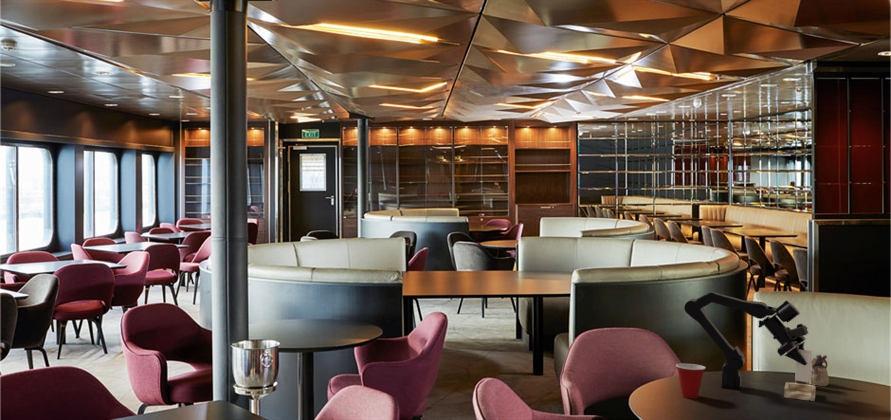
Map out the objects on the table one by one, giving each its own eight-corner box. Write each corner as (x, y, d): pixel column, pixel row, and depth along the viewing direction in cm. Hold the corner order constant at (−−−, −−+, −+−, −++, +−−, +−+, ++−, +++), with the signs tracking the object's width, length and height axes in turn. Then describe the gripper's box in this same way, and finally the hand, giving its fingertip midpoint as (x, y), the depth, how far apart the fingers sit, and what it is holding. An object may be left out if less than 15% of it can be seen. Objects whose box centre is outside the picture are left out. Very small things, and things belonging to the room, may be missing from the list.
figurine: (810, 380, 313) (811, 351, 312) (830, 383, 309) (831, 354, 308) (807, 384, 307) (808, 354, 307) (826, 387, 303) (827, 357, 303)
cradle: (784, 397, 289) (784, 368, 289) (787, 383, 309) (788, 356, 308) (814, 401, 284) (815, 371, 284) (816, 386, 304) (817, 359, 304)
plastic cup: (706, 394, 292) (707, 363, 292) (703, 402, 282) (704, 369, 282) (677, 390, 297) (677, 360, 296) (673, 398, 287) (673, 366, 286)
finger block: (794, 380, 288) (796, 351, 288) (798, 377, 292) (799, 349, 291) (807, 382, 286) (809, 353, 285) (810, 379, 289) (812, 351, 289)
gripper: (788, 320, 283) (818, 355, 276) (801, 314, 297) (830, 346, 291) (764, 338, 288) (794, 372, 282) (778, 331, 303) (807, 363, 296)
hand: (807, 363), depth 288 cm, fingers closed on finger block, 5 cm apart
